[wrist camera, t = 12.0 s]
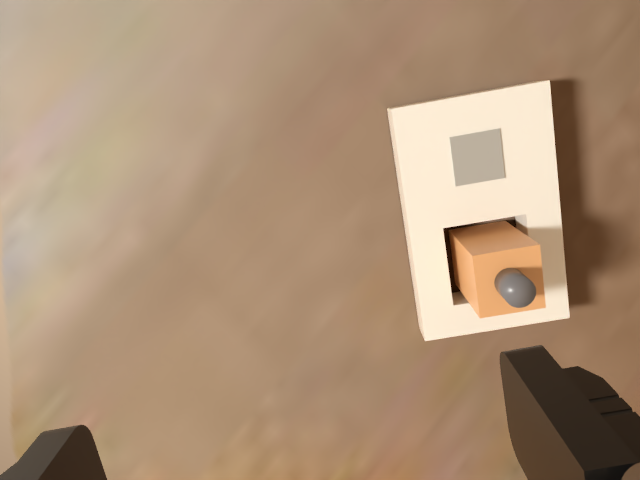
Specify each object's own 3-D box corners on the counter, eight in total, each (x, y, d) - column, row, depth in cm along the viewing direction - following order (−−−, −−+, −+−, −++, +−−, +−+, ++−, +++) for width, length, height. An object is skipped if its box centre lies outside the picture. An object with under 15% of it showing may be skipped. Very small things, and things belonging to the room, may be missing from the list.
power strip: (387, 108, 40) (391, 108, 37) (535, 81, 39) (550, 80, 37) (419, 327, 43) (425, 341, 41) (555, 305, 43) (570, 318, 40)
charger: (448, 230, 42) (480, 265, 33) (504, 220, 41) (552, 253, 33) (455, 283, 43) (488, 331, 34) (510, 274, 42) (558, 319, 34)
